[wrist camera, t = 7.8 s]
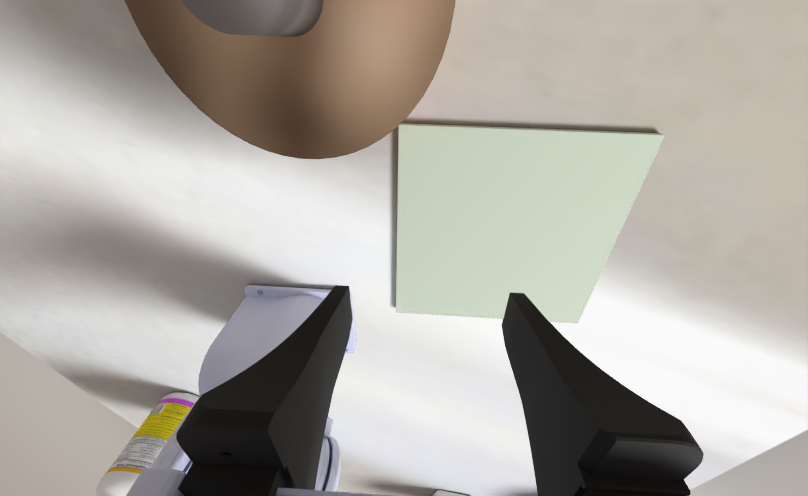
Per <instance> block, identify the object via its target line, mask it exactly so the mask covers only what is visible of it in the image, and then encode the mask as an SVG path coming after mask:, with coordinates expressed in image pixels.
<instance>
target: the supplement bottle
mask: <svg viewBox="0 0 808 496" xmlns="http://www.w3.org/2000/svg"><path fill="white" fill-rule="evenodd" d="M198 398H199V397H198V396H196V395H193V394H189V393H181V392H177V393H170V394H168V395H166V396H164V397H163V398H162V399H161V400H160V402H159V403H158V404H157V405H156V407H155V408H154V409H153V411H152V412H151V413H150V415H149V416H148V417H147V419H146V420H145V421H144V423H143V424H142V425H141V427H140V428H139V430H138V431H137V432H136V434H135V435H134V436H133V438H132V439H131V440H130V442H129V443H128V444H127V446H126V447H125V448H124V450H123V451H122V453H121V454H120V455H119V456H118V458H117V459H116V461H115V462H114V463H113V465H112V466H111V467H110V468H109V470H108V471H107V472H106V474H105V475H104V476H103V478H102V479H101V481H100V482H99V484H98V486H97V496H126V495H127V493H128V492H129V490H130V489H131V487H132V486H133V484H134V483H135V481H136V480H137V478H138V476H139V475H140V473H141V472H142V470H143V469H145V468H151V466H152V465H153V463H154V461H155V460H156V458H157V457H158V455H159V454H160V452H161V450H162V449H163V447H164V446H165V444H166V443H167V441H168V440H169V438H170V437H171V435H172V434H173V432H174V431H175V430H176V428H177V427H178V425H179V424H180V422H181V421H182V420H183V418H184V417H185V415H186V414H187V413H188V411H189V410H190V409H191V407H192V406H193V405H194V403H195V402H196V401H197V400H198Z"/></svg>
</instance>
